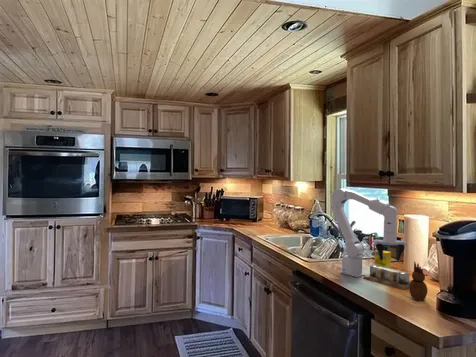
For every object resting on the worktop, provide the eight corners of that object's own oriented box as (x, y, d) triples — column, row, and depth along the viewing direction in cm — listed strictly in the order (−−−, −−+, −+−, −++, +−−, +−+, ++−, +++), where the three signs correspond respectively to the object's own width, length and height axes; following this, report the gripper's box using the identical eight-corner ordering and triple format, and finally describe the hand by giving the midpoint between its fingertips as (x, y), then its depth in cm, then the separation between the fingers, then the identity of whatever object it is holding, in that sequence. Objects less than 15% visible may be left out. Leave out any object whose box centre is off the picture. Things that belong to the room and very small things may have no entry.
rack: (363, 278, 170) (363, 266, 170) (375, 274, 177) (375, 263, 177) (403, 289, 154) (404, 276, 154) (415, 285, 161) (416, 272, 161)
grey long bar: (367, 275, 172) (368, 265, 172) (372, 273, 174) (373, 264, 174) (406, 285, 157) (406, 275, 157) (411, 283, 159) (411, 273, 159)
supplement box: (374, 272, 182) (374, 251, 182) (379, 270, 186) (379, 249, 186) (385, 274, 178) (386, 253, 177) (390, 272, 182) (391, 251, 182)
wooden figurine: (406, 296, 145) (407, 260, 145) (419, 296, 146) (420, 260, 146) (415, 302, 139) (416, 264, 138) (429, 302, 139) (430, 264, 139)
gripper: (377, 232, 163) (376, 261, 163) (409, 233, 162) (408, 262, 162) (372, 230, 170) (371, 257, 170) (403, 231, 169) (402, 259, 169)
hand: (389, 260), depth 167 cm, fingers open, 7 cm apart
